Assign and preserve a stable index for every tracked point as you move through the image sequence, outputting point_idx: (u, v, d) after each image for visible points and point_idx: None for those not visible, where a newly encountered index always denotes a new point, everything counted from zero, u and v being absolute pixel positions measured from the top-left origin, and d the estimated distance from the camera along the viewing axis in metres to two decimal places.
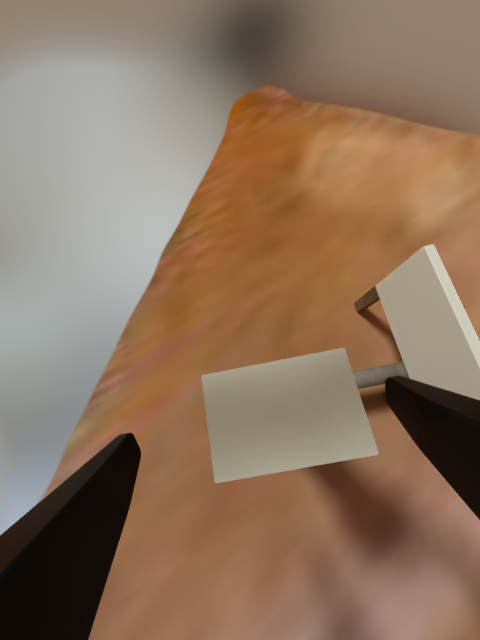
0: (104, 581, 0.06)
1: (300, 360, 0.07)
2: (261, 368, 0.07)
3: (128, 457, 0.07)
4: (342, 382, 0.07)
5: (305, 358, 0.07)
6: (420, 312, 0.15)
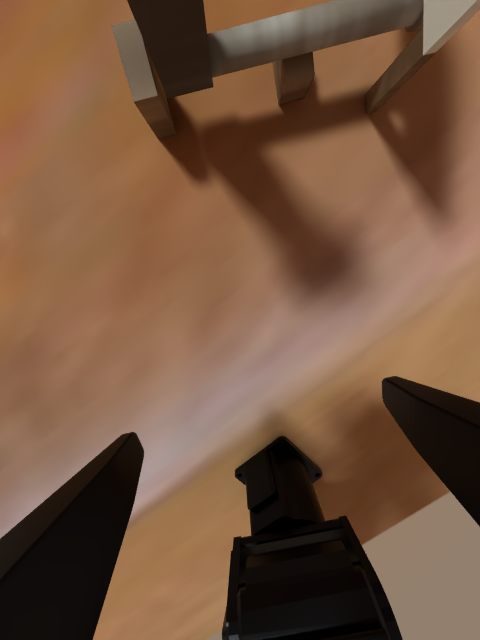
0: (108, 580, 0.06)
1: None
2: None
3: (131, 456, 0.07)
4: None
5: None
6: None
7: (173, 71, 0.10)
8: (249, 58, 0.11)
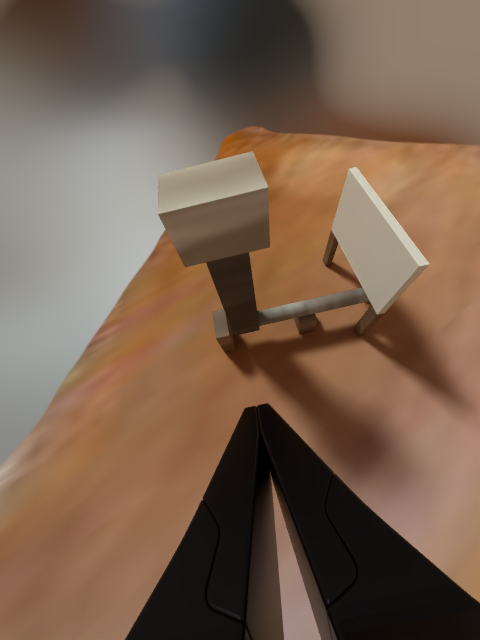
0: (276, 548, 0.06)
1: (223, 159, 0.11)
2: (197, 166, 0.11)
3: None
4: (249, 164, 0.10)
5: (227, 158, 0.11)
6: (358, 223, 0.18)
7: (239, 326, 0.20)
8: (279, 318, 0.21)
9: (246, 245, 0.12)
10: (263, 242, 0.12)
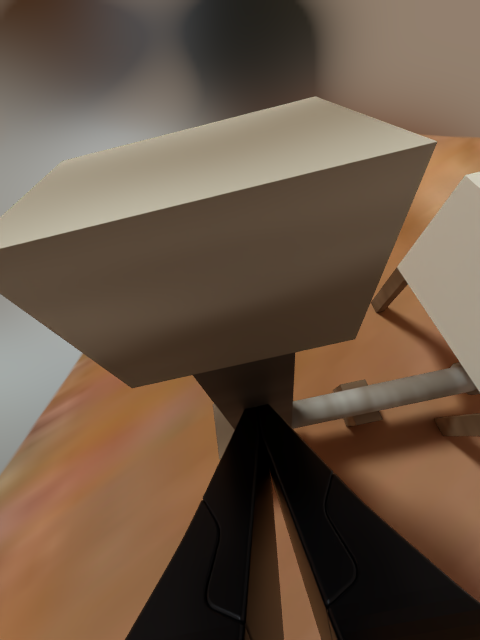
0: (276, 548, 0.06)
1: (235, 118, 0.04)
2: (165, 135, 0.04)
3: None
4: (314, 112, 0.03)
5: (245, 115, 0.04)
6: (477, 273, 0.10)
7: None
8: (323, 419, 0.13)
9: (296, 338, 0.04)
10: (343, 330, 0.04)
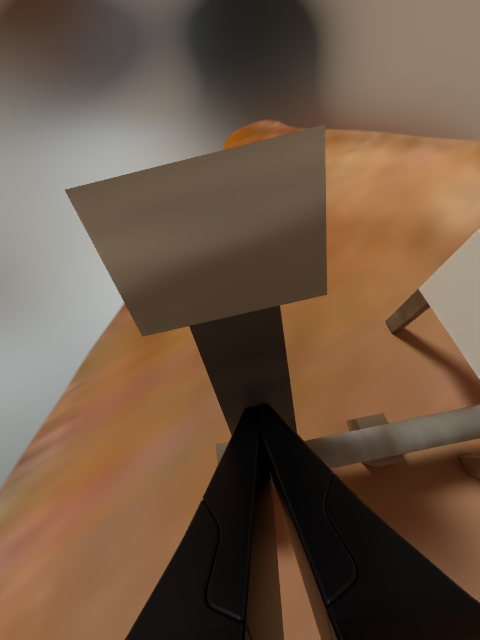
0: (276, 548, 0.06)
1: None
2: None
3: None
4: None
5: None
6: None
7: None
8: (339, 460, 0.11)
9: (275, 287, 0.05)
10: (313, 281, 0.05)
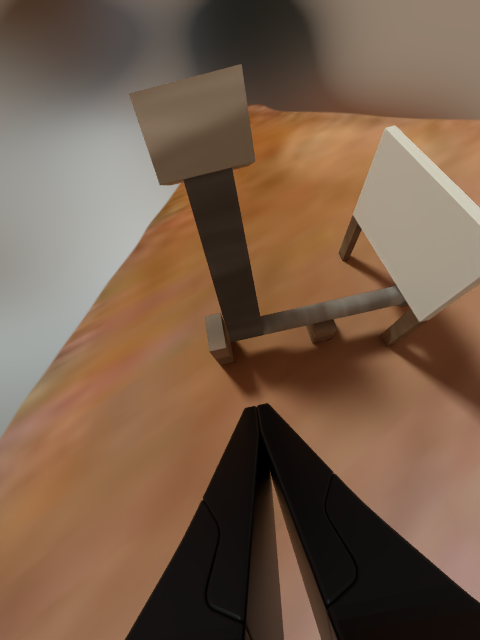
0: (276, 548, 0.06)
1: None
2: None
3: None
4: None
5: None
6: (395, 201, 0.14)
7: (235, 322, 0.15)
8: (288, 321, 0.16)
9: (227, 154, 0.10)
10: (246, 152, 0.10)
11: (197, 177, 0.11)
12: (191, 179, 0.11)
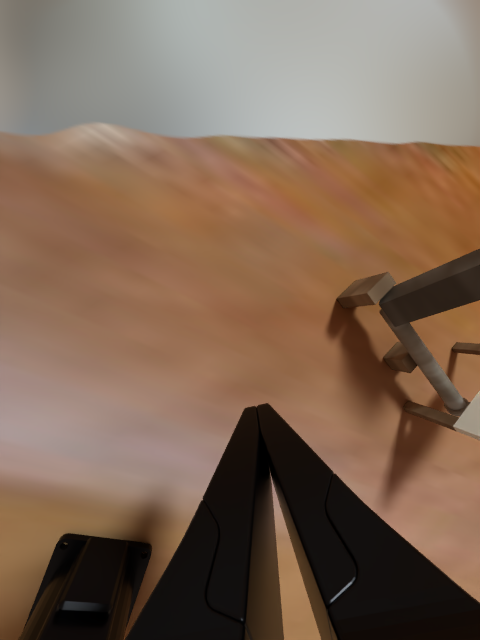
0: (276, 548, 0.06)
1: None
2: None
3: None
4: None
5: None
6: None
7: (403, 304, 0.18)
8: (411, 339, 0.19)
9: None
10: None
11: None
12: None
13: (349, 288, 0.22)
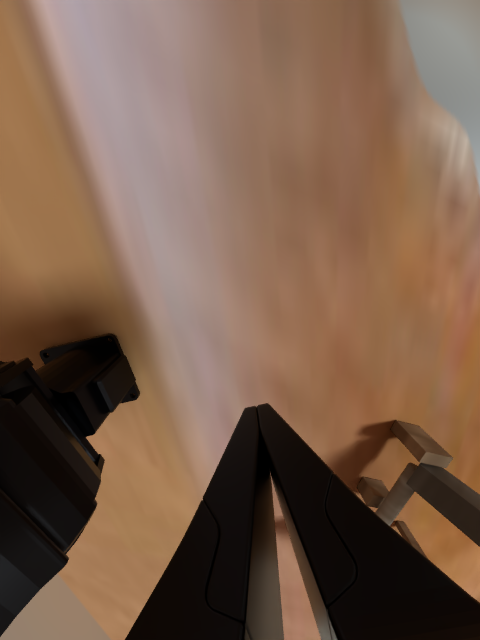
0: (276, 548, 0.06)
1: None
2: None
3: None
4: None
5: None
6: None
7: (435, 485, 0.19)
8: (400, 498, 0.22)
9: None
10: None
11: None
12: None
13: (411, 426, 0.23)
